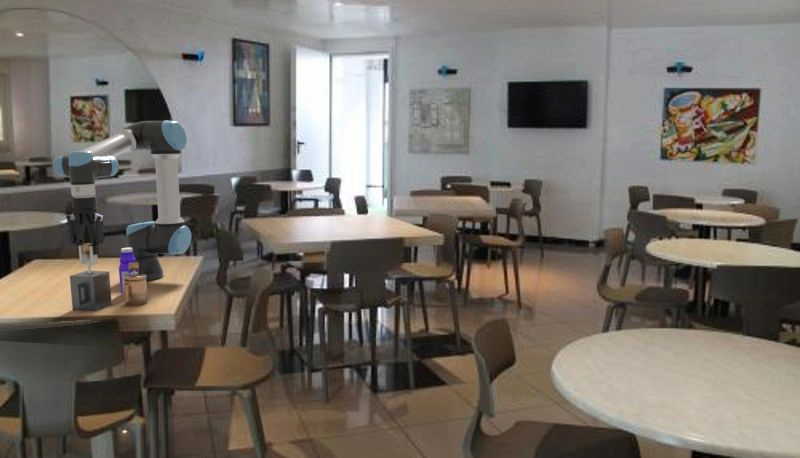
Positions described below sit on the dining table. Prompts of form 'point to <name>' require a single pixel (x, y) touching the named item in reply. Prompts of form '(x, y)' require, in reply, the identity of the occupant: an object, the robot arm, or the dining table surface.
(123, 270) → the bottle
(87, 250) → the plunger tall
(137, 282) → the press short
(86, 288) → the cube with square hole
